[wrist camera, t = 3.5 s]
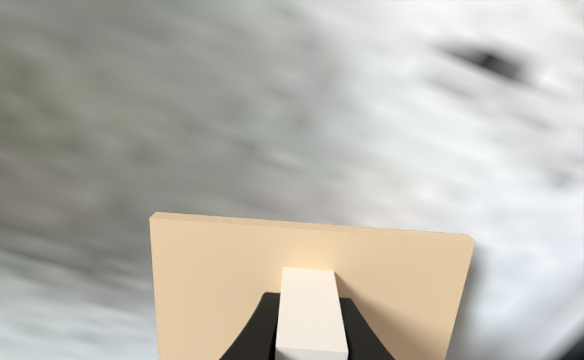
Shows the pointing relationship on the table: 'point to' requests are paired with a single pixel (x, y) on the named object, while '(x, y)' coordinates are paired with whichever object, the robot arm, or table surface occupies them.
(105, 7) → the table surface
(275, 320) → the robot arm
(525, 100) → the table surface
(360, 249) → the lid
